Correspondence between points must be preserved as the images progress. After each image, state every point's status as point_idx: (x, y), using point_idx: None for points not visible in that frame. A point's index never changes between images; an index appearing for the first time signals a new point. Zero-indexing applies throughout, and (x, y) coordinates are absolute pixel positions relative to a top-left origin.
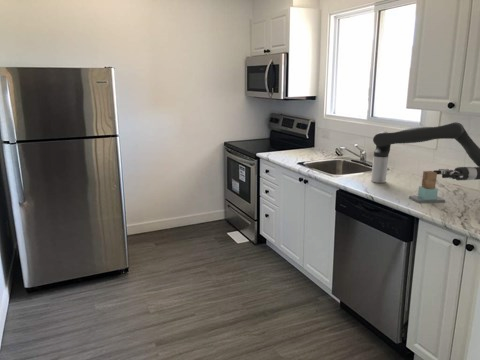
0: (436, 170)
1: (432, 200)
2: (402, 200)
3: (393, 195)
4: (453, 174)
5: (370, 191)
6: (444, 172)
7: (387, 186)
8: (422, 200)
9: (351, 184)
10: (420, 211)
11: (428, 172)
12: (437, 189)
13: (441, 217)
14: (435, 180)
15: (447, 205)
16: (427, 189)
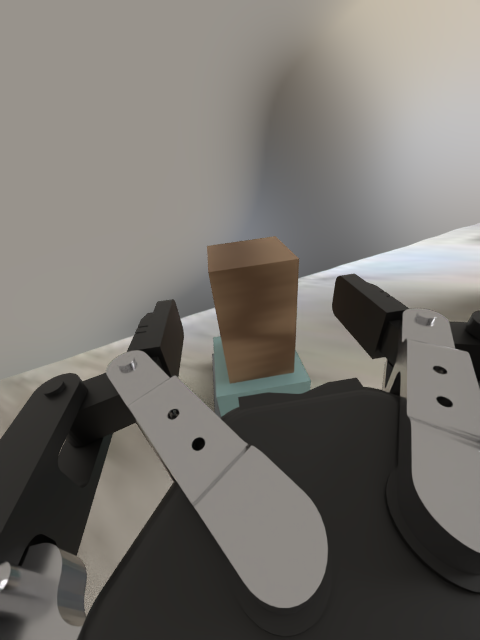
0: (364, 286)
1: (215, 413)
2: None
3: (311, 318)
4: (62, 381)
5: None
6: (392, 380)
7: (468, 319)
8: (213, 369)
9: (404, 261)
10: (122, 347)
11: (228, 246)
12: (216, 396)
13: (34, 386)
14: (220, 331)
15: (152, 496)
16: (214, 344)
